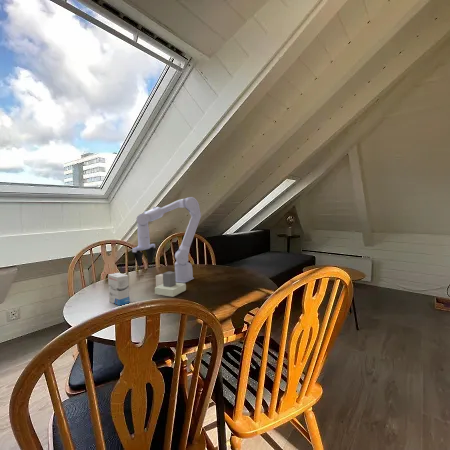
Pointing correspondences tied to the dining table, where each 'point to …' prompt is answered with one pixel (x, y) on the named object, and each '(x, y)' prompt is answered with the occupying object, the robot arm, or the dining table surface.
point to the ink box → (118, 288)
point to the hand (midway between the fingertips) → (145, 264)
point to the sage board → (170, 289)
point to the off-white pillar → (159, 280)
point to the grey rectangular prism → (169, 279)
